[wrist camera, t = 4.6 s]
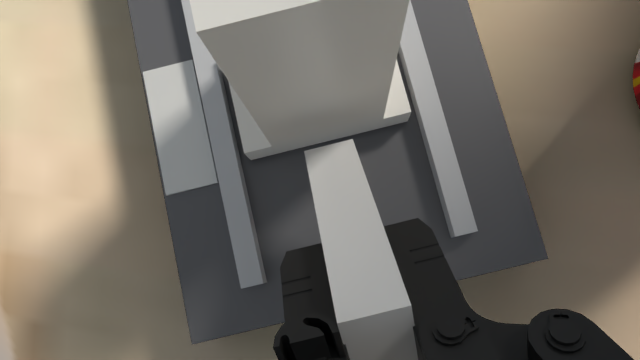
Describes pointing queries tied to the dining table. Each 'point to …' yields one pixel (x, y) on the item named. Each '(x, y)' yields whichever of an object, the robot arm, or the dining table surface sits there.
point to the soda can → (637, 78)
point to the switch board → (292, 174)
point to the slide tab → (306, 67)
